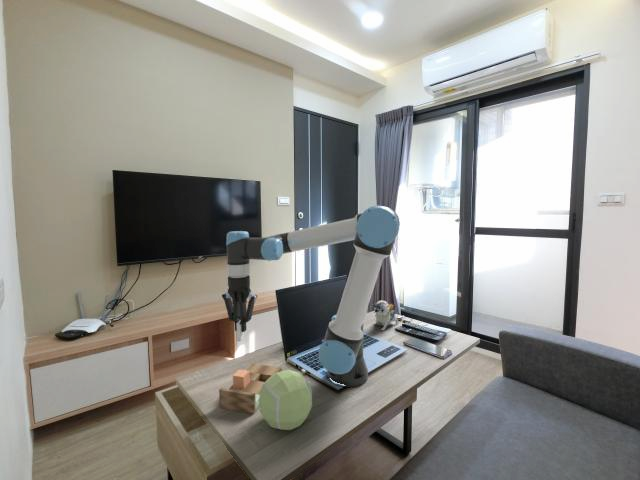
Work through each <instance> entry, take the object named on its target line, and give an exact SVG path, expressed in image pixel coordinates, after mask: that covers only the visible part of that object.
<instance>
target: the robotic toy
mask: <svg viewBox="0 0 640 480" xmlns="http://www.w3.org/2000/svg"><path fill="white" fill-rule="evenodd" d="M372 306H373V308H374V309H373V314H375V315H374V317H375V322H374V323H373V326H374V327H375V326H377V325H381V326H382V328H381V329H380V330H381V331H385V330H386V329H387V326H390V325H391V323H392V322H395V324H396V326H397V325H399V320H398V318H396V317H397V316H396V313H397V311H396V310H395V309H394V308H395V307H396V308H398V306H396V305H394V304H393V303H388V302H387V301H386V300H379V301H377V302H374V303H373V305H372Z"/></svg>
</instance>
